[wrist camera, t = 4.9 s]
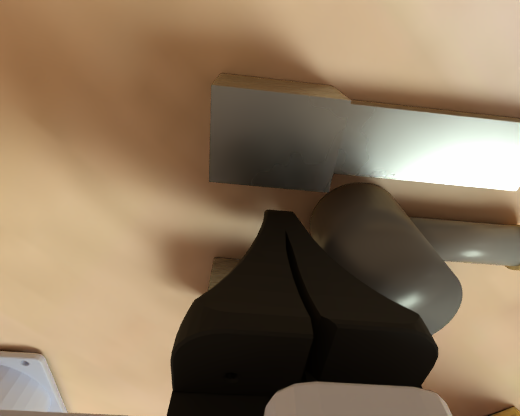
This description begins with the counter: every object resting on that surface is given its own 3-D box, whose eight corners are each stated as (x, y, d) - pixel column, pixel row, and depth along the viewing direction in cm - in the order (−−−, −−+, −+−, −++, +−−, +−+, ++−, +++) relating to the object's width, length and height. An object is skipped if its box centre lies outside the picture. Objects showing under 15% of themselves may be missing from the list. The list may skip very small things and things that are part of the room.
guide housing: (212, 300, 16) (205, 343, 14) (221, 72, 11) (211, 84, 8) (425, 315, 17) (450, 358, 15) (541, 109, 11) (609, 129, 9)
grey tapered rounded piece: (303, 253, 15) (321, 344, 11) (319, 178, 13) (350, 254, 9) (494, 267, 15) (585, 360, 11) (538, 198, 13) (671, 279, 9)
